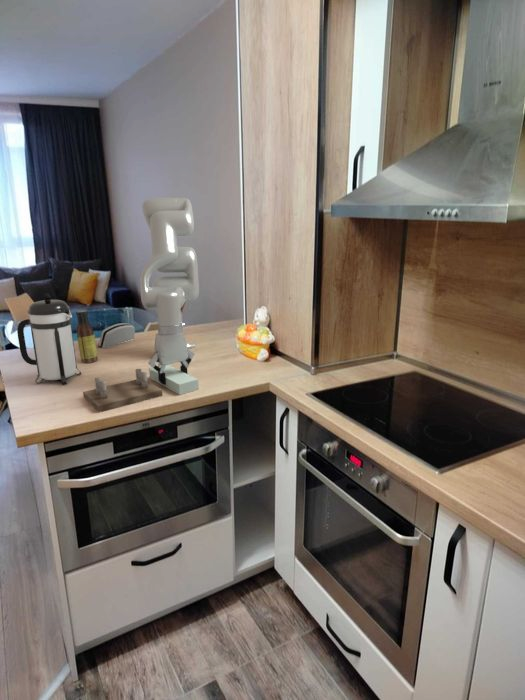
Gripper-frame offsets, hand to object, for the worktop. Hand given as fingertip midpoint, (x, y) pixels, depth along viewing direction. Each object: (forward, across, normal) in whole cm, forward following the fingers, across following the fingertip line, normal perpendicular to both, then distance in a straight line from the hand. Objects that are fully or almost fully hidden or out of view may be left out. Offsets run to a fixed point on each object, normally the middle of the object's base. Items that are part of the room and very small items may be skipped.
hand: (173, 380), depth 156 cm
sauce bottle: (+2, +14, -44) cm, 46 cm away
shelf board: (+1, 0, 0) cm, 1 cm away
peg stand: (+1, +18, 0) cm, 18 cm away
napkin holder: (+2, -4, -60) cm, 61 cm away
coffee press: (+2, +30, -30) cm, 43 cm away
